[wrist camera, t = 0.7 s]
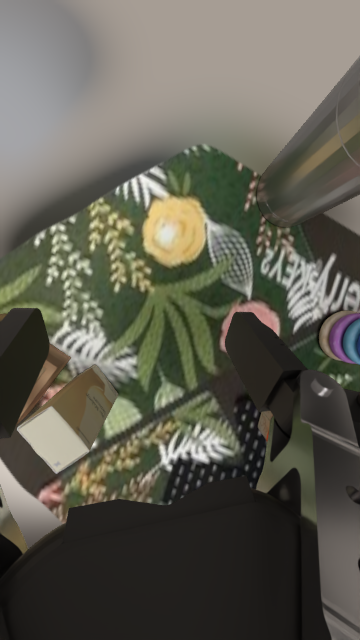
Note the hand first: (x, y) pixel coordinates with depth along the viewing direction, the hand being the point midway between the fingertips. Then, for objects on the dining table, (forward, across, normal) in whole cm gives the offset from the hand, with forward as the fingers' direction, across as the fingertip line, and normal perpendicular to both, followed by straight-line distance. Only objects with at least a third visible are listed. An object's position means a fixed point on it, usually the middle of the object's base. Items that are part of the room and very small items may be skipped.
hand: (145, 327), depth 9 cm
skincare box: (+15, +6, +23) cm, 28 cm away
